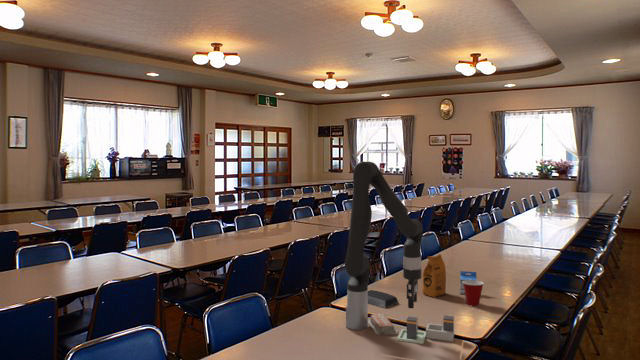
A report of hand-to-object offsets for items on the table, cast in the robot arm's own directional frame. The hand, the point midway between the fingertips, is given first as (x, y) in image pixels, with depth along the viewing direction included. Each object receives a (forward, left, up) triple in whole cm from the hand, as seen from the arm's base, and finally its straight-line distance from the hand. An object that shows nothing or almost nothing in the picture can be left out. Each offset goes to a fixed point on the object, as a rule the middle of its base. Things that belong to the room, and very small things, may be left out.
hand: (412, 304), depth 186 cm
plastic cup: (+22, +55, -15) cm, 61 cm away
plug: (0, 0, -14) cm, 14 cm away
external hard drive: (-26, +43, -15) cm, 52 cm away
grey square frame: (+11, +6, -15) cm, 19 cm away
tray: (0, 0, -15) cm, 15 cm away
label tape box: (+19, +73, -15) cm, 77 cm away
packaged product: (-15, +7, -15) cm, 22 cm away
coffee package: (+1, +66, -15) cm, 68 cm away
